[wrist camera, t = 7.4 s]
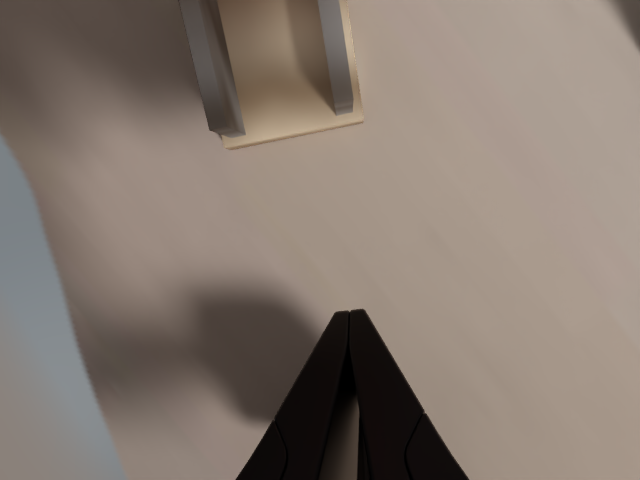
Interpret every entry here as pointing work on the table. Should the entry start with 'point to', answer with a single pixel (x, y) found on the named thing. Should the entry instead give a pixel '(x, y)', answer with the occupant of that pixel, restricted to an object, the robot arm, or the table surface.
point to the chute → (273, 67)
